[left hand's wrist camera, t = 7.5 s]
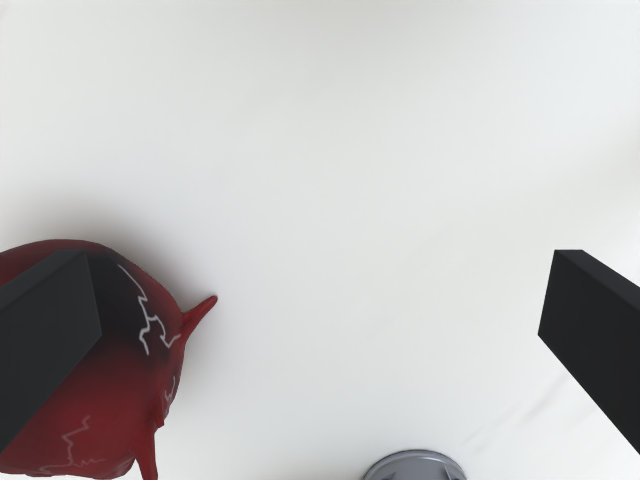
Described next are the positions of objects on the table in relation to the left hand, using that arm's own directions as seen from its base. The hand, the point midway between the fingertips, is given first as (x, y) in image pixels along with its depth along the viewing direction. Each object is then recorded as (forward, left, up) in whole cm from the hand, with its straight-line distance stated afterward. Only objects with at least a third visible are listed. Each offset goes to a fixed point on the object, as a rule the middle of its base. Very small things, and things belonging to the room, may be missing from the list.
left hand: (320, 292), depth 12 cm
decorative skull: (-21, +26, -35) cm, 48 cm away
